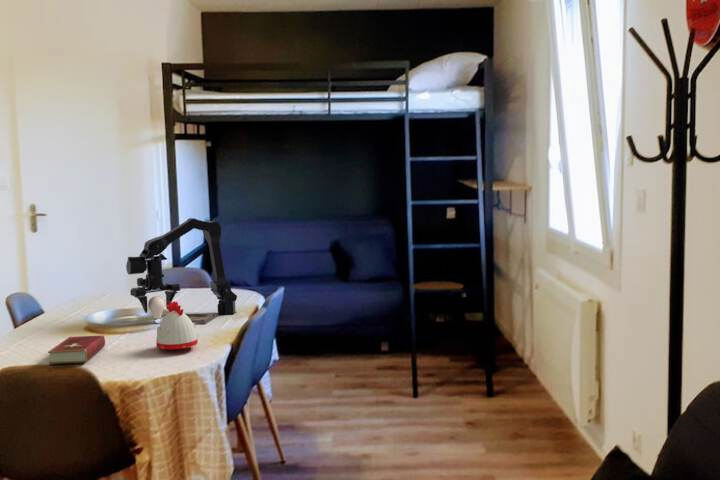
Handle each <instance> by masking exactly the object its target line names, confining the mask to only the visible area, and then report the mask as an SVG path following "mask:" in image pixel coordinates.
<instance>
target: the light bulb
mask: <svg viewBox="0 0 720 480" xmlns="http://www.w3.org/2000/svg"><path fill="white" fill-rule="evenodd" d="M147 308H148V310H149V311H150V312H151V314H152V318H153V321H154V320H157V319H161V320H162V314H163V312H164V310H165V308H166V301H165V299H164V298H163V297H161V296H157V295H155V296H152V297H151V298H149V300H148V301H147Z"/></svg>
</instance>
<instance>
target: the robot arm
mask: <svg viewBox="0 0 720 480" xmlns="http://www.w3.org/2000/svg"><path fill="white" fill-rule="evenodd" d="M193 230H199V231H201V232H202V233H203V236H204V239H205V240H206V242H207V244H208V249H209V256H210V262H211V268H212V274H213V278H212V281H209V284H210V291H211V292H212V294H213V295H214V296H216V298H217V300H218V304H217V316H233V315H235V314H237V313H238V311H236V310H237V309H236V308H237V307H236V301H237V299H238V296H237V295H236V293H235V292H233V291H232V288H231V285H230V281H229V280H228V278H227V277H226V272H225V268H224V260H223V254H222V250H221V243H220V242H221V239H222V226H221V224H220V222H218V221H212V220H206V221H205V220H200V219H197V218H193V217H189V218H188V219H187V220H185V221H184V222H182V223H181V224H179V225H177V226H176V227H174V228H172V229H171V230H169V231H168V232H166V233H164V234H162V235H159V236H156V237H153V238H150V239H149V240H148V239H147V241H145V243H144V244H143V245H144V246H143V249H142V251H141V253H140V254H139V256H128V257H127V260H126V264H125V265H126V267H125V268H126V269H125V270H126V272H127V274H128V275H137V274H138V275H139V274H145V272H146V273H147V274H145V278H144V277H138V278H136V284H137V287H132V288H131V289H130V291H129V292H130V296H132V297H134V298H136V299H137V300H138V301H139V303H140V304H141V306H142V308H143V312H144V313H145V314H147V313H148V296H147V294H150V293H158V292H163V291H164V294H165V308H166V310H168V308H167V305H168V304H169V302H171V301H172V302H173V301H174V298H175V295H177V294H178V292H180V291H181V290H182V289H181V285H180V283H177V282H167V283H165V284H164V279H163V278H164V277H165V273H164V274H163V261H166V260H168V258H167V257H166V256H165V255H164V254H163V252H164V251H165V250H166V249H167V248H168V247H169V246H170V244H171V243H173V242H175V241H177V240H178V239H180V238H182V237H183V236H185V235H186V234H187V233H189V232H191V231H193Z"/></svg>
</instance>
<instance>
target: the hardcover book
mask: <svg viewBox="0 0 720 480" xmlns="http://www.w3.org/2000/svg"><path fill="white" fill-rule="evenodd" d="M105 346H106V337H105V335H103V334H100V335H99V334H97V335H79V336H78V335H76V336H68V337H67V338H66V339H65V340H63V341H62V342H60V343H59V344H57V345H55V346H54V347H52V349H50V350H48V351H47V353H48V354H49V357H50V358H49V359H50V361H49V362H48V364H49V365H50V364H51V365H53V364H55V365H57V364H70V363H71V364H72V363H78V364H79V363H87V362H88V361H89V360H90V359H91V358H92V357H94V356H95V355H96V354H97V353H98V352H100V351H101V350H102V349H103V348H104V347H105Z"/></svg>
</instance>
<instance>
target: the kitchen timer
mask: <svg viewBox="0 0 720 480" xmlns="http://www.w3.org/2000/svg"><path fill="white" fill-rule="evenodd" d="M167 308H168V309H167ZM167 308H166V309H167V310H168V313H167V314H166V315H165V316H164V318H163V319H161V322H160V323H159V326H158V327H157V328H156V338H155V339H156V342H155V344H156V348H158V349H163V350H182V349H186V348H190V347H194V346H197V345H198V334H197V330H196V324H195V323H192V321H191V320H190V319H189V317H188V316H187V315H186V314H187V313H184V308H183V309H182V306H181V304H180V305H179V303H178V301H174V300H172V301H171V302H169V304H168V305H167Z"/></svg>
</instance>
